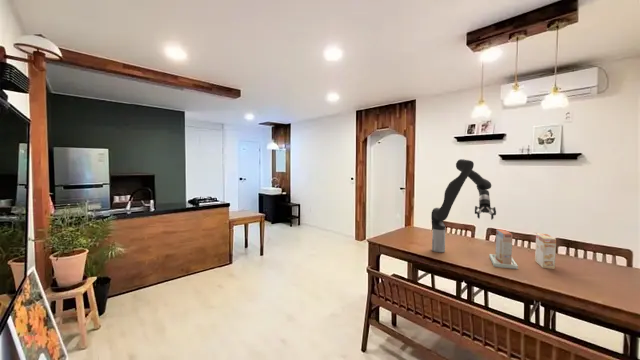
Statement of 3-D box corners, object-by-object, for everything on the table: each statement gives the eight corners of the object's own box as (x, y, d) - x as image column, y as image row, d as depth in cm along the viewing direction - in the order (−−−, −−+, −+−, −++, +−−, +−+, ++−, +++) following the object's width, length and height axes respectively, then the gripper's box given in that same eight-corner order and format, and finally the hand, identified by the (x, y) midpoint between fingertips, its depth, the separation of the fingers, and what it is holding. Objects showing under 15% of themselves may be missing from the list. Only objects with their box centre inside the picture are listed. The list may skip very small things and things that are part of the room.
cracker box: (512, 265, 196) (513, 234, 195) (501, 264, 198) (502, 233, 196) (504, 258, 210) (505, 229, 208) (494, 258, 211) (495, 228, 210)
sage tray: (493, 266, 196) (493, 263, 196) (489, 256, 216) (489, 253, 216) (517, 269, 191) (518, 265, 191) (511, 259, 211) (511, 256, 211)
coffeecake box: (555, 269, 191) (556, 239, 190) (542, 267, 194) (543, 238, 192) (546, 261, 205) (548, 233, 204) (534, 260, 208) (535, 233, 206)
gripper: (474, 198, 234) (475, 214, 225) (495, 199, 229) (497, 216, 219) (474, 203, 240) (474, 220, 230) (494, 205, 234) (495, 222, 224)
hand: (485, 218), depth 224 cm, fingers open, 8 cm apart
